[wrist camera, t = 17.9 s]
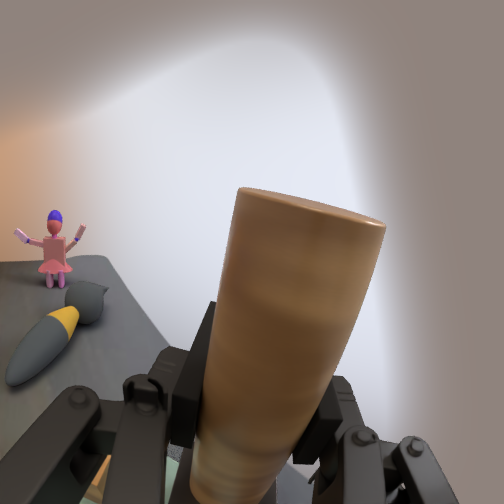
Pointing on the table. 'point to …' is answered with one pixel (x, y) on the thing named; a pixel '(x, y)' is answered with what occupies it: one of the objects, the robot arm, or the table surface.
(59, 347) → the paintbrush
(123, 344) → the table surface
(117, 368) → the table surface
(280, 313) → the brush
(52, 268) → the figurine
